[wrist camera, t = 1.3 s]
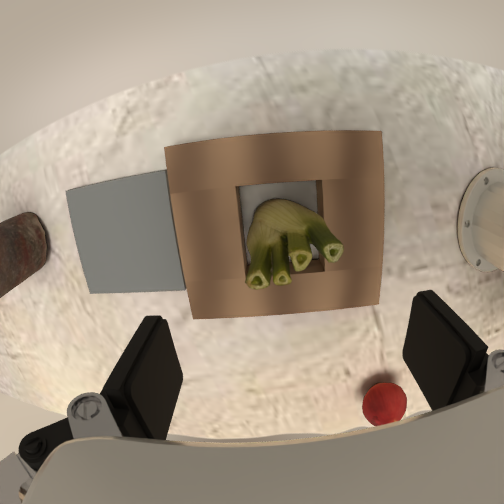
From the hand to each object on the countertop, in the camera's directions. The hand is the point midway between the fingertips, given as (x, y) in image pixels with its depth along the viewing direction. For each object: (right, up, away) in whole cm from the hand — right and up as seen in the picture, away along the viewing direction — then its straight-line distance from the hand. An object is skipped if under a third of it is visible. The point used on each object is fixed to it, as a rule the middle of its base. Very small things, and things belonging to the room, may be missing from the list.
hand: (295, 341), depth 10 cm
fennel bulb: (+1, +6, +17) cm, 18 cm away
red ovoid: (+15, -15, +24) cm, 32 cm away
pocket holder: (+1, +6, +17) cm, 18 cm away
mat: (-15, +5, +18) cm, 24 cm away
